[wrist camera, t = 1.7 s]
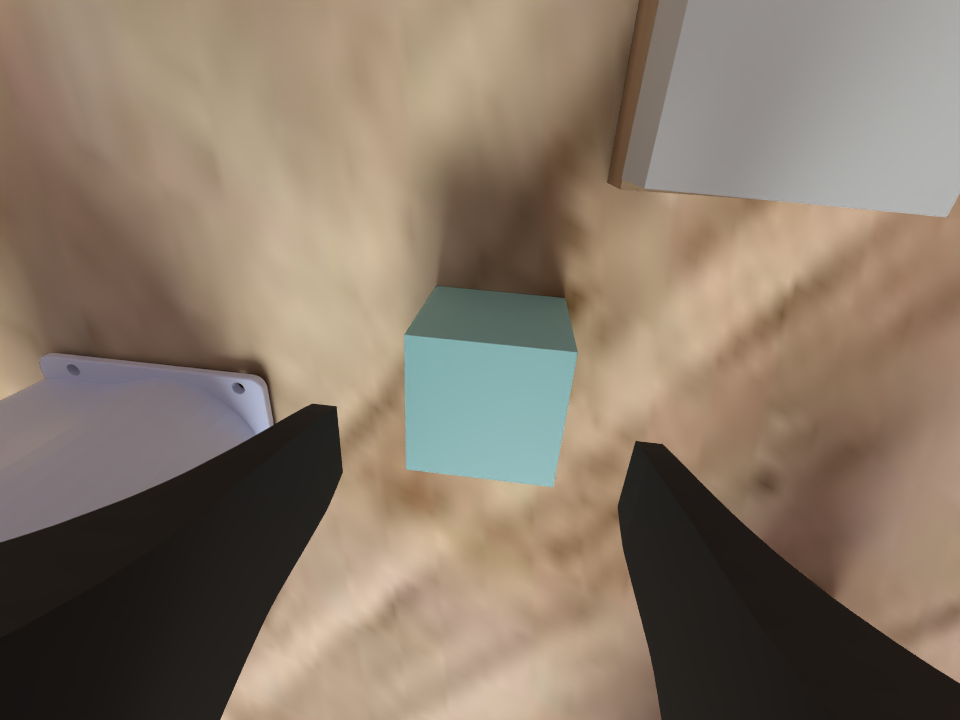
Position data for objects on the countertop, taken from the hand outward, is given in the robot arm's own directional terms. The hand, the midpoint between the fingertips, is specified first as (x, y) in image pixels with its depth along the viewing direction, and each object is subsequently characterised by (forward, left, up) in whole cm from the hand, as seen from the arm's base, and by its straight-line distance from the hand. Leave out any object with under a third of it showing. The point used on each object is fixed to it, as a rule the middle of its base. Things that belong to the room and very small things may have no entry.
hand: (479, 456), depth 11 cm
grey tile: (+6, +9, -4) cm, 12 cm away
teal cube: (0, 0, -6) cm, 6 cm away
